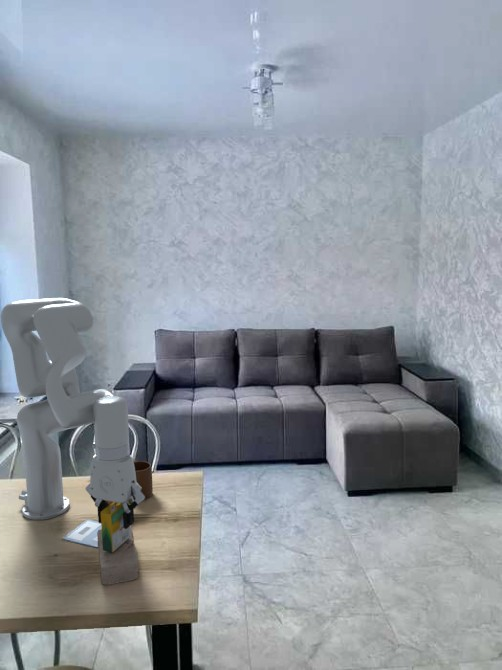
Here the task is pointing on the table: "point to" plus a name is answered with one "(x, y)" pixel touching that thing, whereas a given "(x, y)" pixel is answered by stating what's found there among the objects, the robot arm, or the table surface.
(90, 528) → the plan sheet
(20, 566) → the table surface
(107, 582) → the brick
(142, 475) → the mug
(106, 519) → the crayon box
